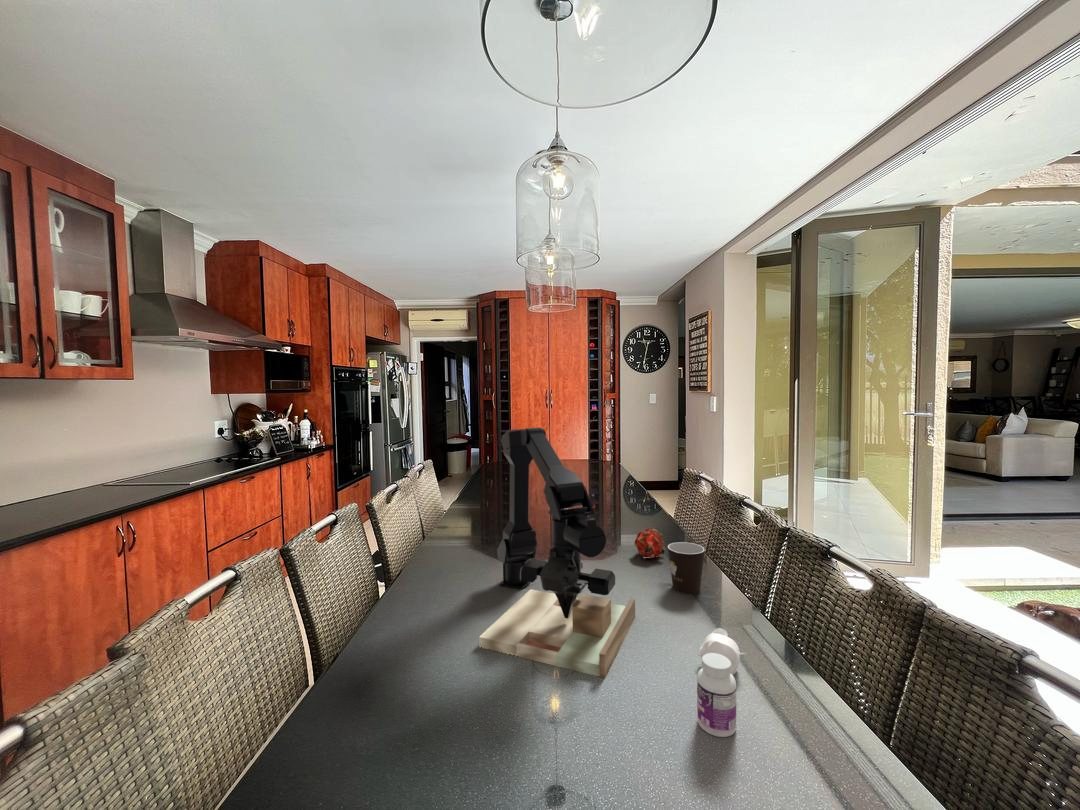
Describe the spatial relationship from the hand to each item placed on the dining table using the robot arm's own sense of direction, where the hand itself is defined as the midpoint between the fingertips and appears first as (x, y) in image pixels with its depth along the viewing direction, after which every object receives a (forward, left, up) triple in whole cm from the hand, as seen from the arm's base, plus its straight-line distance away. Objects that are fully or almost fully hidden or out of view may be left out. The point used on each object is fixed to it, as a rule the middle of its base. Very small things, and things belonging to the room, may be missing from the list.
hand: (567, 617), depth 94 cm
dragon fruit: (+7, +49, -3) cm, 50 cm away
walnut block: (+5, 0, -1) cm, 5 cm away
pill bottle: (+29, -16, -3) cm, 33 cm away
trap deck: (-2, 0, -3) cm, 4 cm away
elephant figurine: (+29, -1, -3) cm, 29 cm away
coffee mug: (+19, +32, -3) cm, 38 cm away
